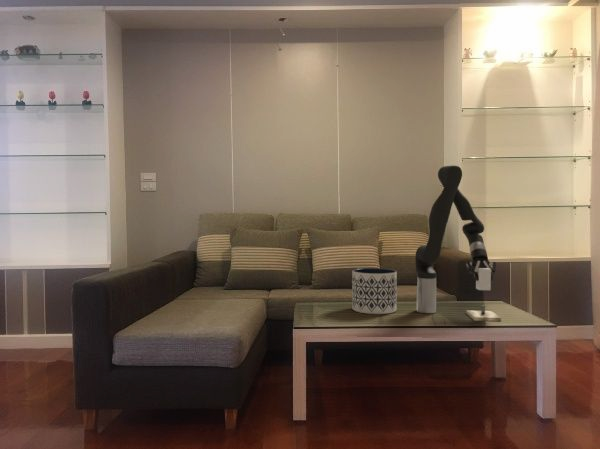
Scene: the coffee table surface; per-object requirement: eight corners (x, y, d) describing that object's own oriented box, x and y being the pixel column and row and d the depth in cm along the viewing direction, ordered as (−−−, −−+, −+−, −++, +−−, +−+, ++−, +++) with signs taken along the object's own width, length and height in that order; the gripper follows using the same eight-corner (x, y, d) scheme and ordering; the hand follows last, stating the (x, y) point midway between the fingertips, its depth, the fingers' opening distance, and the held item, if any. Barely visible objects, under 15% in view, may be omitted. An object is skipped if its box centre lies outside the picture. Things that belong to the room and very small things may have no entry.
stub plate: (474, 320, 231) (474, 308, 231) (466, 313, 247) (466, 302, 247) (501, 321, 230) (501, 309, 230) (491, 313, 246) (491, 302, 246)
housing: (478, 290, 236) (479, 269, 235) (475, 288, 241) (476, 267, 241) (490, 290, 235) (490, 269, 235) (487, 288, 241) (487, 267, 240)
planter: (346, 312, 249) (346, 271, 249) (360, 304, 269) (360, 267, 269) (390, 316, 240) (390, 274, 239) (401, 308, 260) (401, 269, 259)
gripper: (464, 247, 246) (470, 275, 234) (494, 248, 244) (501, 275, 233) (462, 257, 251) (467, 284, 240) (491, 257, 250) (498, 285, 238)
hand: (484, 280), depth 236 cm, fingers closed on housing, 5 cm apart
